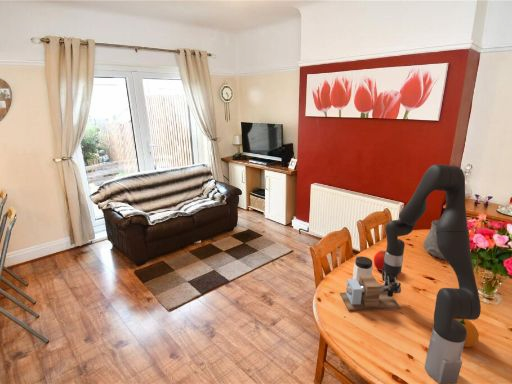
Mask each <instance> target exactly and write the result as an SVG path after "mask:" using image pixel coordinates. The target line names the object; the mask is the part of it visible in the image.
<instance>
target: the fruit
mask: <svg viewBox="0 0 512 384" xmlns="http://www.w3.org/2000/svg"><path fill="white" fill-rule="evenodd" d="M455 320H457V321H459V322H460V323H461V324H463V326H464V327H465V328H466V330H467V336H466V339H465V343H464V347H463V348H471V347H473V346H475V345H476V344H477V343H478V341H479V337H480V334H479V331H478V328H477V327H476V326H475V324H474V323H472V322H471V321H470V320H468V319H455Z"/></svg>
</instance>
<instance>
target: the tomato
mask: <svg viewBox="0 0 512 384" xmlns="http://www.w3.org/2000/svg"><path fill="white" fill-rule="evenodd" d="M385 253H386V250H379V251H378V252H377V253H376V254H375V255H374V256H373V264H374V267H375V268H376V269H377V270H378V271H381V272H382V268H383V264H384V258H385Z"/></svg>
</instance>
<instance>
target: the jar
mask: <svg viewBox="0 0 512 384" xmlns="http://www.w3.org/2000/svg"><path fill="white" fill-rule="evenodd" d="M352 272H353V273H352V279H356V280H357V282H358V283H359V278H360V275H372V274H373V260H372V259H371V258H370V257H367V256H361V255H360V256H357V257H356V258H355V262H354V264H353V271H352Z"/></svg>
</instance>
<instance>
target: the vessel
mask: <svg viewBox="0 0 512 384" xmlns="http://www.w3.org/2000/svg"><path fill="white" fill-rule="evenodd" d="M438 221H439V219H438V220H437V219H435V220H432V222H431V227H430V230H429V232H428V234H427V236H426V238H425V239H424V241H423V248H424V250H425V252H427V253H428V254H430V255H432V256H433V257H436V258H438V259H442V260H446V259H445V258H444V256H443V255H442V254H441V252H440V250H439V248H438V245H437V236H436V227H437V224H438Z"/></svg>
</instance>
